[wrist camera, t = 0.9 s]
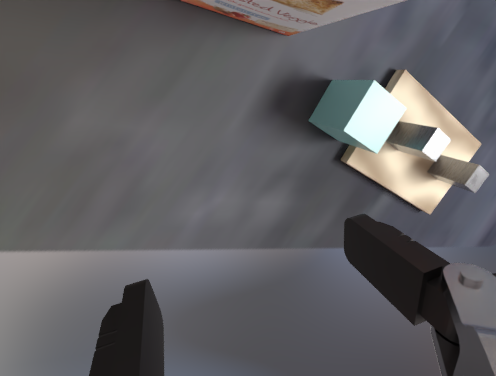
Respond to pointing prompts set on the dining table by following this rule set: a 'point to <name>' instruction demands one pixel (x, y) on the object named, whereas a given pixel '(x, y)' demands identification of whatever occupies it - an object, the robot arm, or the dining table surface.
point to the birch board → (406, 165)
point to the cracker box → (291, 11)
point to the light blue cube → (358, 113)
